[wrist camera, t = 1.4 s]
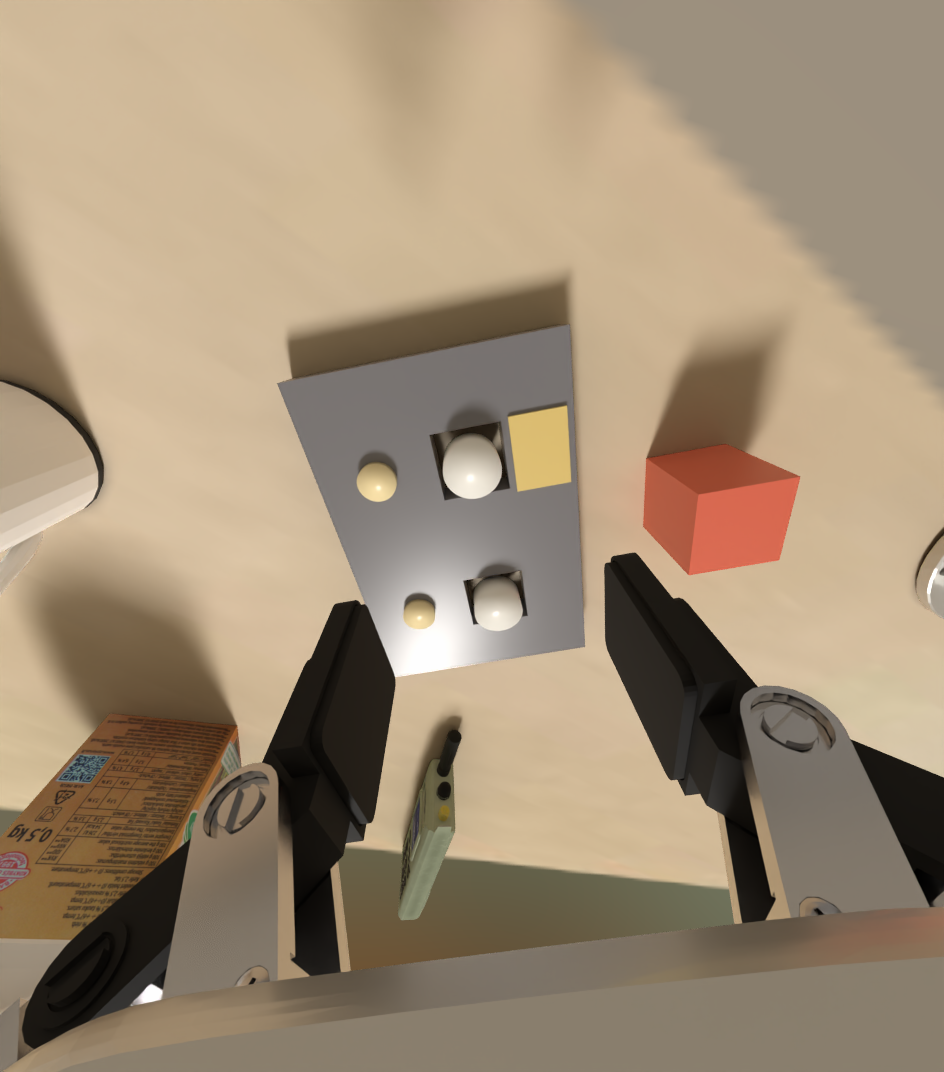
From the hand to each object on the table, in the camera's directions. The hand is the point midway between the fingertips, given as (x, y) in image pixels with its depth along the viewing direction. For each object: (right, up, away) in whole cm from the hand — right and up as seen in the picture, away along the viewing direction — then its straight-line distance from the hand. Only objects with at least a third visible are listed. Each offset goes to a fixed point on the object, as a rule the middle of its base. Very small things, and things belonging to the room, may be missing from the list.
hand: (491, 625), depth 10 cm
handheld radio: (-5, -26, +32) cm, 42 cm away
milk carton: (-28, -19, +27) cm, 43 cm away
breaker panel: (-1, +3, +16) cm, 16 cm away
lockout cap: (+14, +6, +15) cm, 21 cm away
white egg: (+1, -2, +17) cm, 17 cm away
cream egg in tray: (-1, +7, +12) cm, 14 cm away
